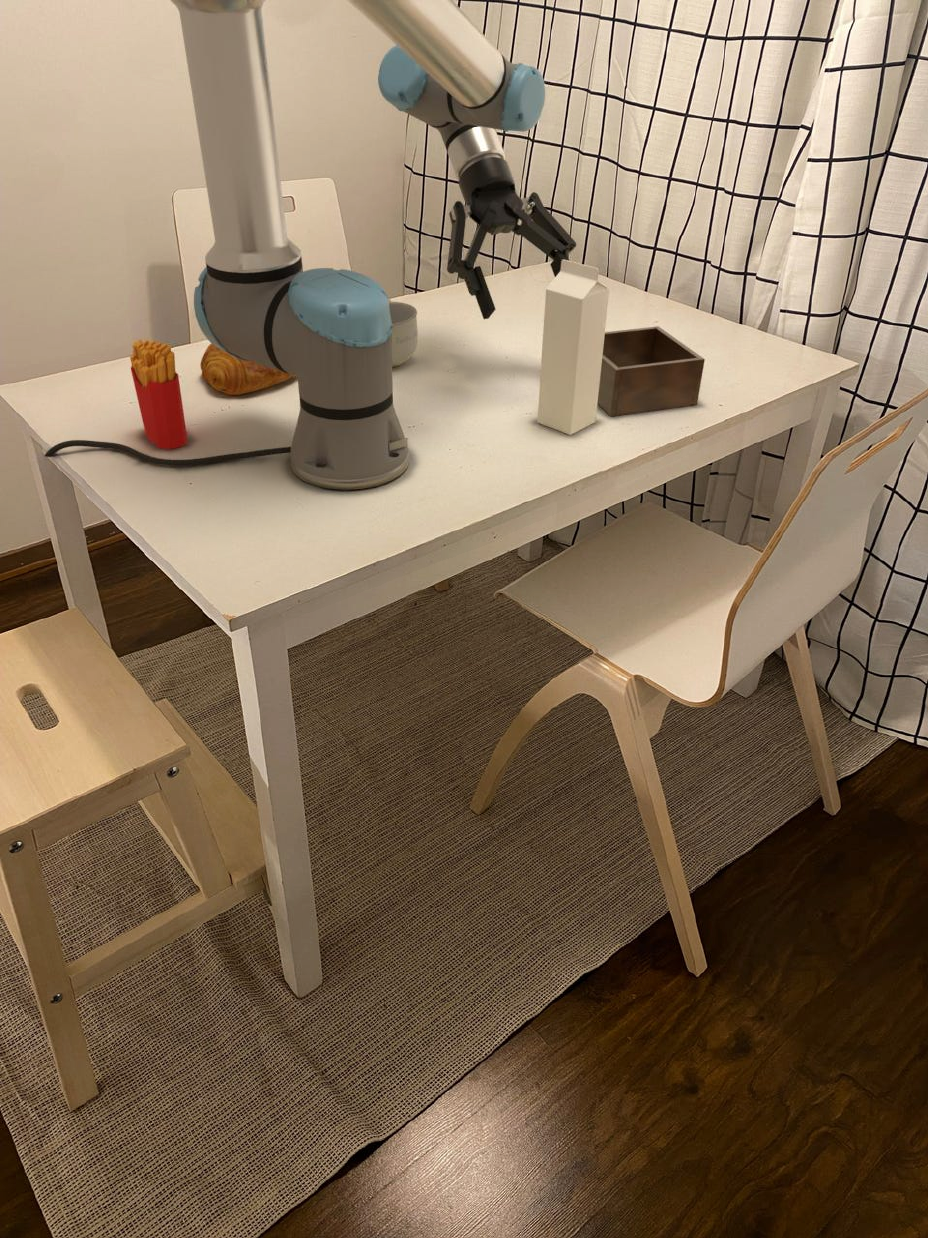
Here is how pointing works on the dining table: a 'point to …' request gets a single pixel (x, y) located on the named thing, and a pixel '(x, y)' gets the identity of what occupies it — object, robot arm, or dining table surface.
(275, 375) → the croissant
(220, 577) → the dining table surface
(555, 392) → the milk
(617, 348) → the caddy
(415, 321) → the teacup
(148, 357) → the french fries
